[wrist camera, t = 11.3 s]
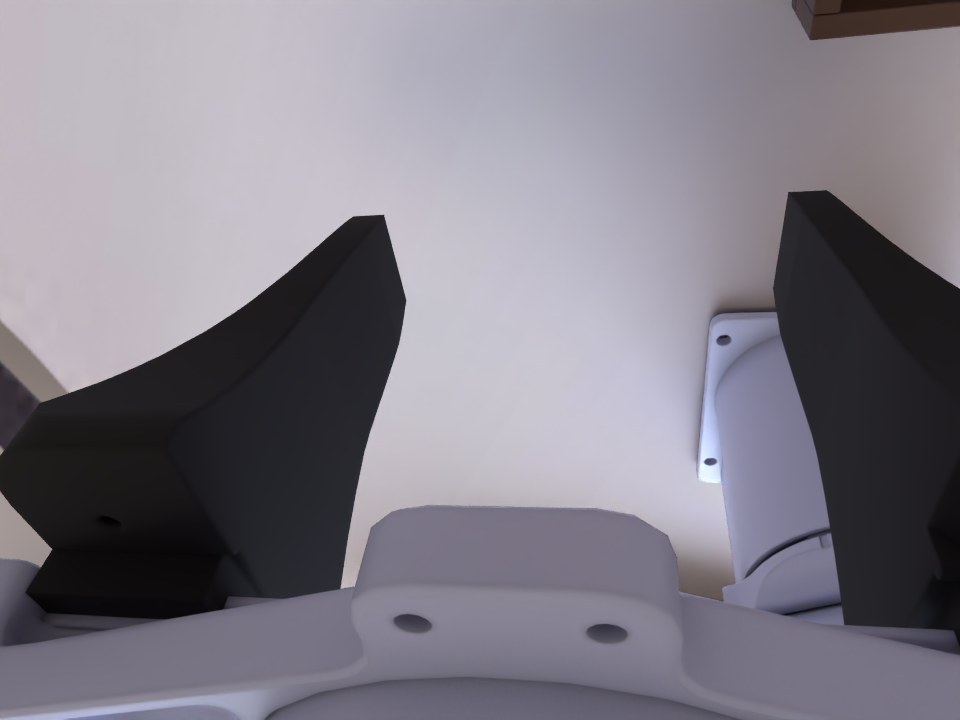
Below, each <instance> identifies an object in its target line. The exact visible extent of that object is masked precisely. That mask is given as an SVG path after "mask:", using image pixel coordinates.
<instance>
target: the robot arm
mask: <svg viewBox="0 0 960 720" xmlns="http://www.w3.org/2000/svg"><path fill="white" fill-rule="evenodd" d="M773 291H774V298H775V305H776V312H755V313H724V314H719V315H717V316H715V317H714V318H713V319H712V320H711V322H710V327H709V338H708V349H707V361H706V372H705V383H704V394H703V405H702V416H701V427H700V438H699V449H698V460H697V476H698V478H699V479H700V480H701V481H703V482H708V483H722V488H723V496H724V503H725V510H726V517H727V525H728V532H729V539H730V546H731V554H732V561H733V568H734V575H735V584H732V585H729V586H726V587H724V588H723V589H722V591H723V599H724V602H723V601H718V600H714V599H710V598H705V597H701V596H697V595H692V594H688V593H683V592H679V579H678V566H677V557H676V554H675V552H674V550H673V547H672V545H671V543H670V540H669V538H668V535H666V534H664V533H663V532H661V531H660V530H658V529H656V528H655V527H653V526H651V525H650V524H648V523H646V522H645V521H643V520H641V519H640V518H638V517H636V516H635V515H631V514H625V513H620V512H614V511H608V510H603V509H597V508H549V507H500V506H451V505H426V506H419V507H413V508H406V509H399V510H396V511H393V512H391V513H389V514H388V515H387V516H385V517H384V518H383V519H381V520H380V521H379V522H378V523H376V524H375V525H374V526H372V527H371V530H370V534H369V537H368V541H367V545H366V548H365V552H364V556H363V559H362V563H361V567H360V570H359V574H358V578H357V581H356V585H355V587H349V588H344V589H340V587H341V581H342V574H343V567H344V561H345V554H346V547H347V540H348V534H349V529H350V523H351V517H352V512H353V506H354V501H355V495H356V490H357V485H358V480H359V475H360V470H361V466H362V461H363V456H364V451H365V448H366V444H367V441H368V437H369V434H370V430H371V427H372V424H373V421H374V418H375V415H376V412H377V409H378V406H379V404H380V401H381V398H382V395H383V392H384V389H385V386H386V383H387V380H388V377H389V374H390V370H391V367H392V364H393V361H394V358H395V355H396V352H397V348H398V345H399V341H400V336H401V330H402V325H403V318H404V312H405V306H406V297H405V294H404V290H403V286H402V282H401V278H400V275H399V271H398V267H397V263H396V259H395V256H394V252H393V248H392V244H391V240H390V236H389V233H388V229H387V225H386V221H385V217H384V215H373V216H355V217H352V218H351V219H349V220H348V221H347V222H345V223H344V224H343V225H342V226H340V227H339V228H338V229H337V230H336V231H334V232H333V233H332V234H331V235H330V236H329V237H328V238H326V239H325V240H324V241H323V242H322V243H321V244H320V245H319V246H317V247H316V248H315V249H314V250H313V251H312V252H311V253H309V254H308V255H307V256H306V257H305V258H304V259H302V260H301V261H300V262H299V263H298V264H297V265H296V266H294V267H293V268H292V269H291V270H290V271H289V272H287V273H286V274H285V275H284V276H282V277H281V278H280V279H279V280H277V281H276V282H275V283H274V284H272V285H271V286H270V287H268V288H267V289H266V290H265V291H263V292H262V293H261V294H260V295H258V296H257V297H256V298H254V299H253V300H252V301H250V302H249V303H248V304H246V305H245V306H244V307H242V308H241V309H239V310H238V311H236V312H235V313H233V314H232V315H230V316H229V317H227V318H226V319H224V320H223V321H221V322H219V323H218V324H216V325H215V326H213V327H212V328H210V329H208V330H207V331H205V332H203V333H202V334H200V335H198V336H196V337H194V338H192V339H190V340H189V341H187V342H185V343H183V344H181V345H179V346H178V347H176V348H174V349H172V350H170V351H168V352H166V353H165V354H163V355H161V356H159V357H157V358H155V359H152V360H150V361H148V362H146V363H144V364H142V365H140V366H137V367H135V368H133V369H130V370H128V371H126V372H123V373H121V374H119V375H116V376H114V377H112V378H109V379H107V380H104V381H102V382H99V383H97V384H94V385H91V386H88V387H85V388H82V389H80V390H77V391H74V392H71V393H68V394H66V395H63V396H60V397H57V398H54V399H51V400H48V401H45V402H42V403H40V404H39V405H38V406H37V408H36V409H35V410H34V412H33V413H32V414H31V416H30V417H29V418H28V420H27V421H26V422H25V424H24V425H23V426H22V428H21V429H20V430H19V431H18V433H17V434H16V435H15V437H14V438H13V439H12V441H11V442H10V443H9V445H8V446H7V447H6V449H5V450H4V451H3V453H2V454H1V455H0V491H1V493H2V494H3V495H4V497H5V498H6V499H7V500H8V502H9V503H10V505H11V506H12V507H13V508H14V509H15V510H16V511H17V512H18V513H19V514H20V515H21V516H22V517H23V519H24V520H25V521H26V522H27V523H28V524H29V525H30V526H31V527H32V528H33V529H34V530H35V531H36V532H37V533H38V534H39V536H40V537H41V538H42V539H43V540H44V541H45V542H46V543H47V544H48V545H49V546H50V547H51V548H52V551H51V553H50V554H49V556H48V557H47V559H46V560H45V562H44V564H43V565H42V567H40V566H38V565H36V564H33V563H31V562H28V561H24V560H19V559H0V720H960V289H959V288H958V287H956V286H954V285H953V284H951V283H949V282H948V281H946V280H945V279H943V278H942V277H940V276H939V275H937V274H936V273H934V272H933V271H931V270H930V269H928V268H927V267H925V266H924V265H922V264H921V263H919V262H918V261H916V260H915V259H914V258H912V257H911V256H909V255H908V254H907V253H905V252H904V251H903V250H901V249H900V248H899V247H897V246H896V245H895V244H893V243H892V242H891V241H889V240H888V239H887V238H886V237H884V236H883V235H882V234H880V233H879V232H878V231H877V230H875V229H874V228H873V227H872V226H871V225H869V224H868V223H867V222H866V221H864V220H863V219H862V218H861V217H860V216H858V215H857V214H856V213H855V212H854V211H852V210H851V209H850V208H849V207H848V206H846V205H845V204H844V203H843V202H841V201H840V200H839V199H838V198H837V197H835V196H834V195H833V194H831V193H830V192H829V191H827V190H821V191H803V192H788V198H787V205H786V211H785V217H784V223H783V230H782V236H781V242H780V248H779V255H778V261H777V267H776V273H775V280H774V286H773ZM721 335H728V337H727V338H723V339H721V338H718V337H719V336H721ZM709 458H710V459H709Z"/></svg>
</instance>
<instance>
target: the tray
mask: <svg viewBox="0 0 960 720" xmlns="http://www.w3.org/2000/svg"><path fill="white" fill-rule="evenodd" d="M792 7H793V9H794V11H795V13H796V15H797V17H798V19H799V20H800V22H801V24H802V26H803V28H804V30H805V32H806V33H807V35H808V37H809V39H810V40H819V39H830V38H841V37H852V36H862V35H873V34H884V33H895V32H906V31H917V30H927V29H938V28H949V27H960V0H792Z"/></svg>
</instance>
